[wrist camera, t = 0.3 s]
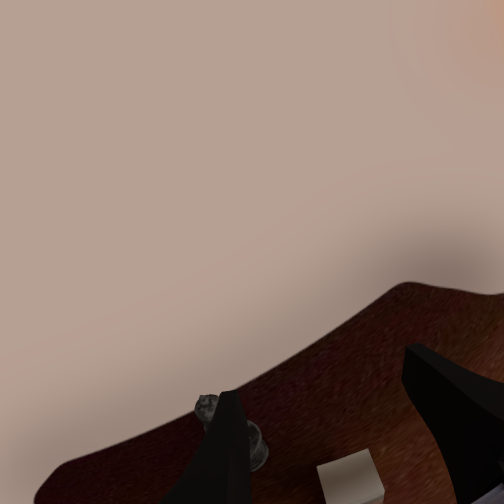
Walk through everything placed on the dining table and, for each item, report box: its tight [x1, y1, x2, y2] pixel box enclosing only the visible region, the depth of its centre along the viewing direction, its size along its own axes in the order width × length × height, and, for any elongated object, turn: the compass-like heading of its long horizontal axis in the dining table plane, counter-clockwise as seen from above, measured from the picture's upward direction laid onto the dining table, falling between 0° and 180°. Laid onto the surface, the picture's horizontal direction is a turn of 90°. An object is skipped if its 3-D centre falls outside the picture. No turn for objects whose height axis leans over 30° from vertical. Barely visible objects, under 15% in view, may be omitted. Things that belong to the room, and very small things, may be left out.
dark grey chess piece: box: [195, 394, 268, 472], centre depth 27 cm, size 6×6×12 cm
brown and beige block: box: [317, 449, 384, 504], centre depth 19 cm, size 4×4×6 cm
